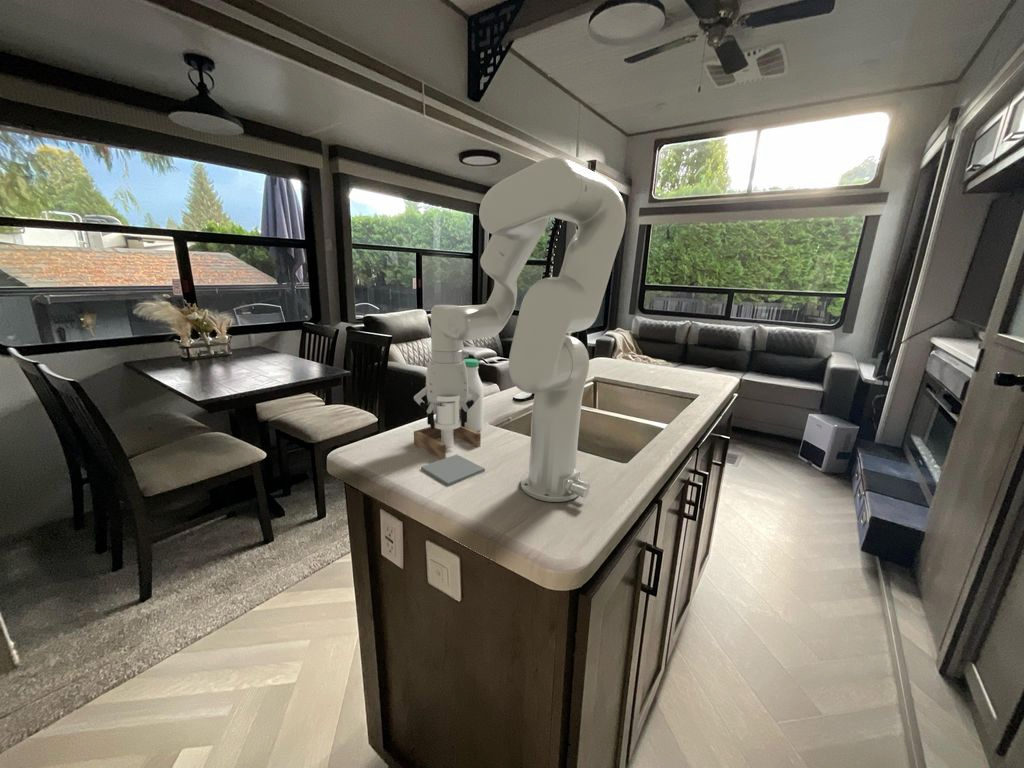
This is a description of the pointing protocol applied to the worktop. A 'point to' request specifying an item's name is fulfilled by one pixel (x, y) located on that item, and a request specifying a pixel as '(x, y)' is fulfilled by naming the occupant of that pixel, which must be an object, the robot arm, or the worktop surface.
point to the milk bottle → (477, 408)
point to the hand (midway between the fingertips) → (447, 425)
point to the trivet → (452, 469)
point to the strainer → (447, 418)
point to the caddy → (429, 443)
